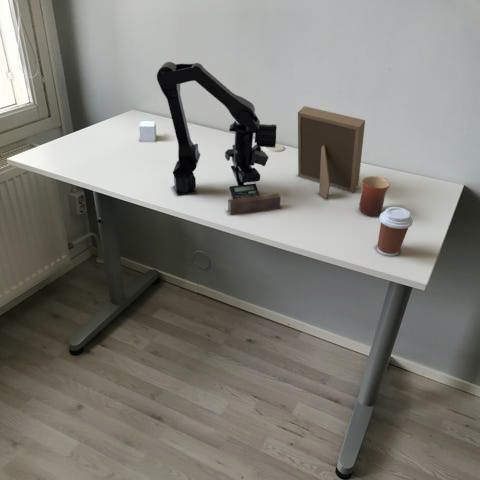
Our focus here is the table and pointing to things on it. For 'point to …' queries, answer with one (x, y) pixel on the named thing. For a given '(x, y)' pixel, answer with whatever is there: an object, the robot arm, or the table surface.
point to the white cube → (147, 131)
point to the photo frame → (329, 149)
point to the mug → (373, 195)
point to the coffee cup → (393, 230)
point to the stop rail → (254, 204)
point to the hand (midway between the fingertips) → (240, 188)
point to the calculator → (244, 191)
